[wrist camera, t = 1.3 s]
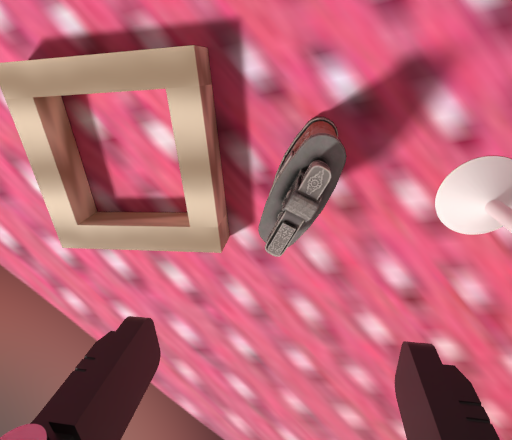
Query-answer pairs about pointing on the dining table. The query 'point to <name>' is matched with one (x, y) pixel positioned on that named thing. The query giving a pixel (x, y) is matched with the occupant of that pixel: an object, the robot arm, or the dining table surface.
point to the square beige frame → (70, 165)
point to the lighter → (302, 184)
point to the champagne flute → (477, 196)
